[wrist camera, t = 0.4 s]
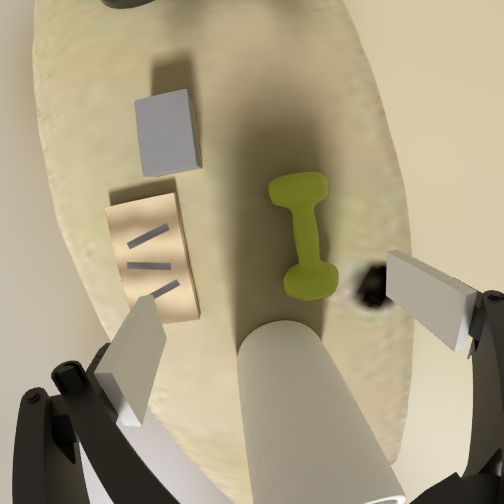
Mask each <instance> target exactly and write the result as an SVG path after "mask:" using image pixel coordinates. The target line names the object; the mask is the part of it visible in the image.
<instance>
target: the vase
mask: <svg viewBox="0 0 504 504" xmlns="http://www.w3.org/2000/svg"><path fill="white" fill-rule="evenodd" d="M237 373H238V384H239V394H240V403H241V411H242V420H243V428H244V437H245V445H246V452H247V460H248V468H249V475H250V482H251V489H252V495H253V502H254V504H404V503H405V501H406V495H405V493H404V491H403V489H402V487H401V485H400V483H399V482H398V480H397V478H396V476H395V474H394V472H393V470H392V468H391V466H390V464H389V462H388V460H387V458H386V456H385V455H384V453H383V451H382V449H381V447H380V445H379V443H378V441H377V440H376V438H375V436H374V434H373V432H372V430H371V428H370V426H369V425H368V423H367V421H366V419H365V417H364V415H363V414H362V412H361V410H360V408H359V406H358V405H357V403H356V401H355V399H354V397H353V396H352V394H351V392H350V390H349V388H348V387H347V385H346V383H345V381H344V379H343V378H342V376H341V374H340V372H339V370H338V369H337V367H336V365H335V363H334V361H333V360H332V358H331V356H330V354H329V353H328V351H327V349H326V348H325V346H324V344H323V343H322V341H321V340H320V338H319V337H318V335H317V334H316V333H315V332H314V331H313V330H312V329H311V328H309V327H308V326H306V325H304V324H302V323H299V322H296V321H290V320H282V321H275V322H271V323H268V324H265V325H263V326H261V327H259V328H257V329H255V330H254V331H253V332H251V333H250V334H249V335H248V336H247V337H246V338H245V340H244V341H243V343H242V344H241V346H240V348H239V352H238V358H237Z"/></svg>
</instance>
